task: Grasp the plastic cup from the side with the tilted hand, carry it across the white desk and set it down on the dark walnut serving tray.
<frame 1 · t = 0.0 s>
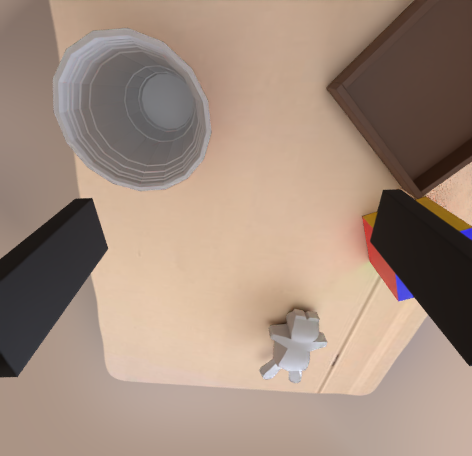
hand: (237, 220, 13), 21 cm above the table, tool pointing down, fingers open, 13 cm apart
tray: (436, 86, 29), on the table
cube: (395, 230, 38), on the table
plastic cup: (169, 104, 29), on the table
bunny figurine: (289, 334, 48), on the table
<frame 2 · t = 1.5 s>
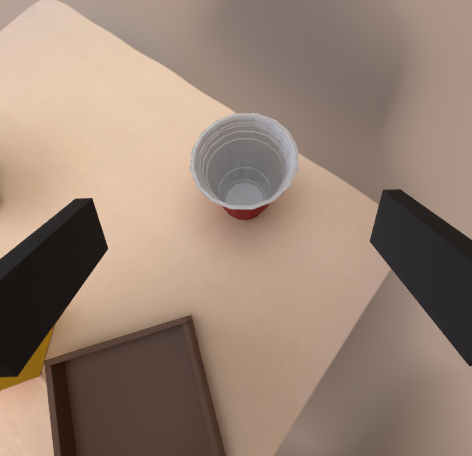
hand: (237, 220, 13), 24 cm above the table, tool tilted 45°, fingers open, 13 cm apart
tray: (140, 406, 32), on the table
cube: (20, 335, 34), on the table
plastic cup: (242, 200, 38), on the table
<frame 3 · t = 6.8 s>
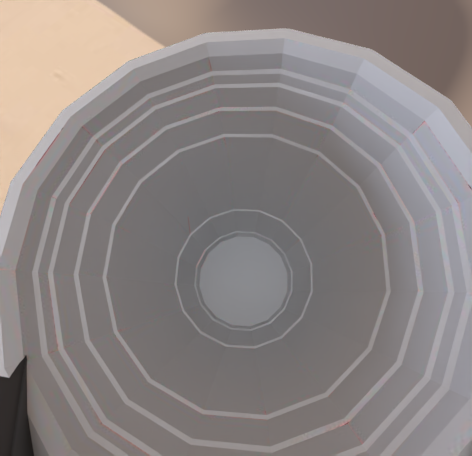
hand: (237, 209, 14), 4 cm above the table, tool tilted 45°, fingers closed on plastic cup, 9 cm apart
plastic cup: (239, 279, 17), on the table, touching gripper
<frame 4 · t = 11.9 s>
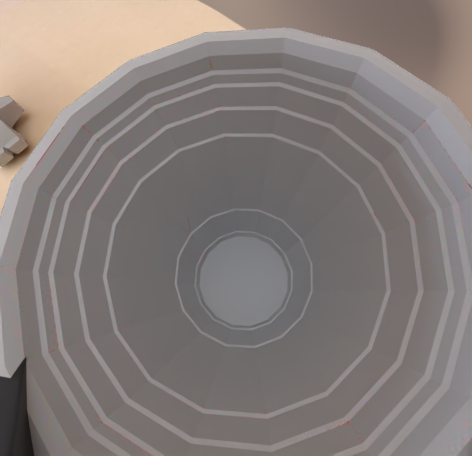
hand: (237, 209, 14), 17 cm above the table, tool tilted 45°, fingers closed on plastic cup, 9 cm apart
plastic cup: (239, 278, 17), point 13 cm above the table, touching gripper
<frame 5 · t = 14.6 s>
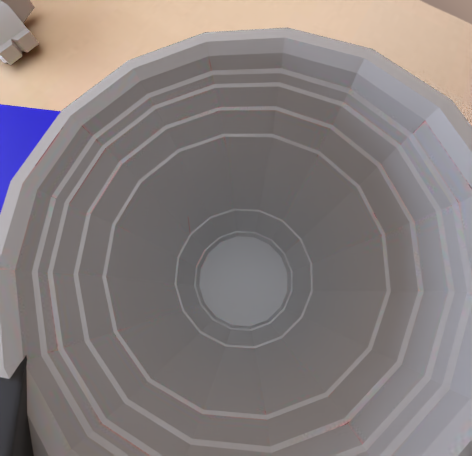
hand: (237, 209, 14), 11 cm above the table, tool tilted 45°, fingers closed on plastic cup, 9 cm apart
cube: (73, 201, 26), on the table
plastic cup: (239, 278, 17), point 7 cm above the table, touching gripper
when the fingers open (4 cm above the table, at t = 16.9 s): plastic cup stays where it is, resting on tray.
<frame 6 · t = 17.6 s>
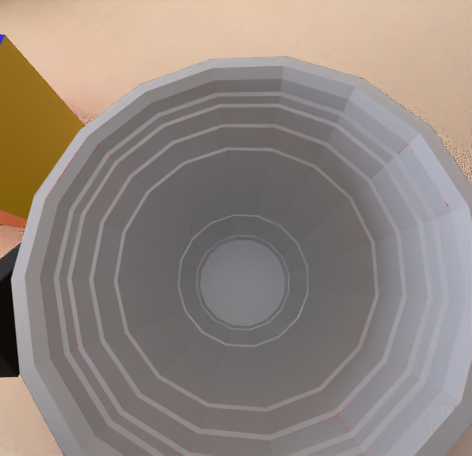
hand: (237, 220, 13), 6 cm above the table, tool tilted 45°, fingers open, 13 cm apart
cube: (26, 174, 20), on the table
plastic cup: (239, 280, 18), resting on tray
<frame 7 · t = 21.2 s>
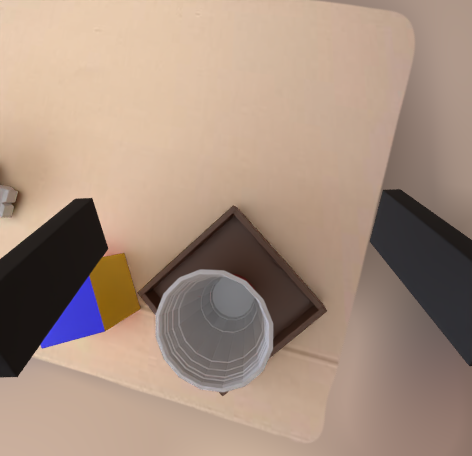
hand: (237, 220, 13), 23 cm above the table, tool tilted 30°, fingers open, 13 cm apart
tray: (231, 294, 36), on the table
cube: (107, 288, 38), on the table
plastic cup: (231, 295, 35), resting on tray
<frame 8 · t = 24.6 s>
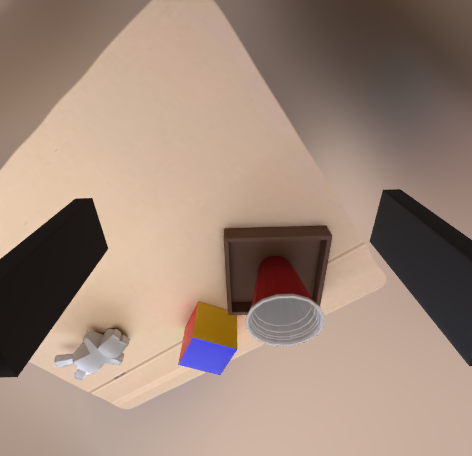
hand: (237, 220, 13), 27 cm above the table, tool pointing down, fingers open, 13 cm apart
tray: (273, 267, 48), on the table
cube: (210, 319, 55), on the table
plastic cup: (273, 268, 47), resting on tray
bunny figurine: (99, 342, 58), on the table
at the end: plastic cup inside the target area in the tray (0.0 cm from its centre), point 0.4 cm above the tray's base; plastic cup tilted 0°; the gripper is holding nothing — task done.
